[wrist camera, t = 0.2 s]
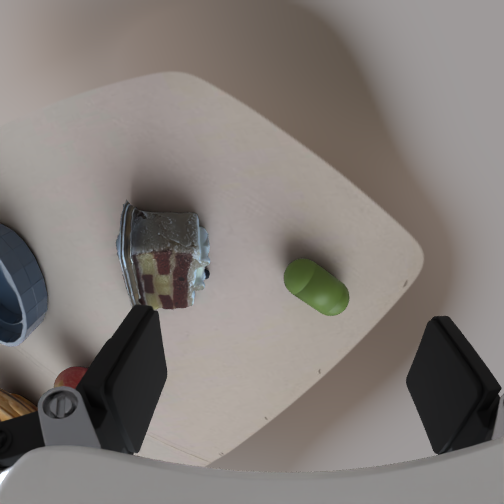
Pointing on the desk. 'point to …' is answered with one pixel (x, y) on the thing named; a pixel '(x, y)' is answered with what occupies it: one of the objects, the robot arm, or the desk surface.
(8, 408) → the ceramic bowl
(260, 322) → the desk surface
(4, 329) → the bowl
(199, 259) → the layered cake slice
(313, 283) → the pickle
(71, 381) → the fruit
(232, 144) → the desk surface
